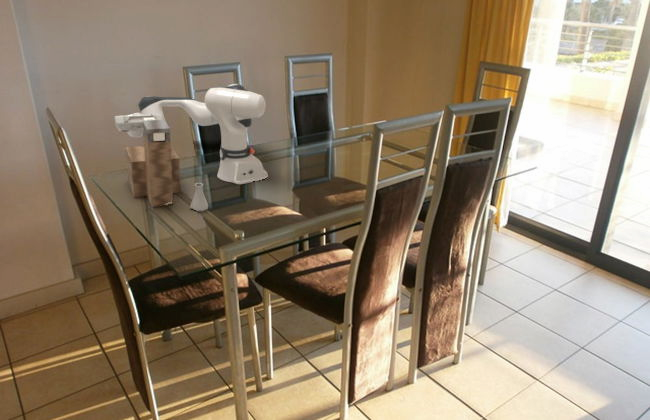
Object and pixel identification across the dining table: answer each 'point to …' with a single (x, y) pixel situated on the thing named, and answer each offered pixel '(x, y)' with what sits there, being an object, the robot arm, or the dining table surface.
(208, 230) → the dining table surface
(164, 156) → the walnut holder
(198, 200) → the flask
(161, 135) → the gauge bar
